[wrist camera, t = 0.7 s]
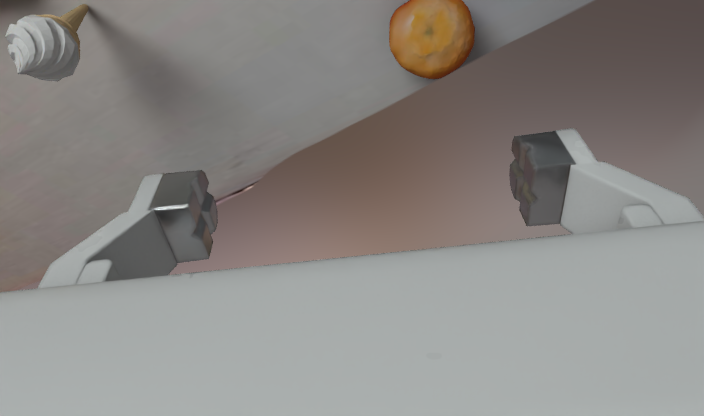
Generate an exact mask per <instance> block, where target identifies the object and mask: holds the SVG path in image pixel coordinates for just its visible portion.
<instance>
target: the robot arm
mask: <svg viewBox="0 0 704 416" xmlns="http://www.w3.org/2000/svg"><path fill="white" fill-rule="evenodd" d="M512 152H513V154H514V157H515V159H514V161H513V162H512V163H511V164H510V186H511V190H512V193H513V196H514V198H515V199H516V200H518V201H520V212H521V214H522V217H523V219H524V221H525V223H526V226H536V225H549V224H560V225H561V226H562V227H563V228H565V229H566V230H568V231H569V232H571V233H572V234H568V235H558V236H548V237H538V238H528V239H519V240H510V241H499V242H489V243H479V244H470V245H460V246H450V247H440V248H431V249H422V250H411V251H402V252H391V253H381V254H372V255H362V256H352V257H342V258H333V259H323V260H313V261H303V262H293V263H283V264H274V265H264V266H254V267H244V268H234V269H225V270H215V271H205V272H195V273H185V274H175V275H168V274H169V273H170V272H171V271H172V270H173V269H174V268H175V267H176V266H177V263H181V262H189V261H196V260H204V259H209V256H210V252H211V248H212V244H213V240H212V237H211V234H212V233H213V232H214V231H215V230H216V227H217V223H218V222H217V221H218V219H217V207H216V203H215V200H214V197H213V196H212V195H211V194H209V193H208V192H207V188H208V184H209V182H208V180H207V177H206V175H205V173H204V172H203V171H202V170H197V171H186V172H175V173H166V174H164V173H163V174H154V175H147V176H145V177H144V178H143V180H142V182H141V184H140V187H139V189H138V191H137V193H136V195H135V198H134V200H133V202H132V204H131V206H130V209H129V211H128V213H122V214H120V215H119V216H118V217H116V218H115V219H113V220H112V221H110V222H109V223H108V224H106V225H105V226H103V227H102V228H101V229H99V230H98V231H96V232H95V233H94V234H92V235H91V236H89V237H88V238H87V239H85V240H84V241H82V242H81V243H79V244H78V245H77V246H75V247H74V248H72V249H71V250H70V251H68V252H67V253H65V254H64V255H63V256H61V257H60V258H58V259H57V260H56V261H54V262H53V263H51V265H50V266H49V268H48V270H47V272H46V273H45V275H44V277H43V279H42V281H41V282H40V284H39V286H38V288H37V289H28V290H18V291H8V292H0V416H704V216H703V215H702V214H701V212H700V211H699V210H698V209H697V207H696V206H695V205H694V204H693V203H692V201H691V200H690V199H689V198H687V197H685V196H683V195H680V194H678V193H676V192H673V191H671V190H669V189H667V188H664V187H662V186H660V185H657V184H655V183H653V182H650V181H648V180H646V179H643V178H641V177H639V176H637V175H634V174H632V173H630V172H627V171H625V170H623V169H620V168H618V167H616V166H613V165H611V164H609V163H607V162H598V161H597V159H596V158H595V156H594V155H593V153H592V152H591V151H590V149H589V148H588V146H587V145H586V143H585V142H584V141H583V139H582V138H581V136H580V135H579V134H578V132H577V131H576V130H575V129H573V128H571V129H564V130H557V131H552V132H544V133H537V134H529V135H521V136H514V138H513V142H512Z"/></svg>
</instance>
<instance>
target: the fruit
mask: <svg viewBox="0 0 704 416" xmlns="http://www.w3.org/2000/svg"><path fill="white" fill-rule="evenodd" d="M474 32H475V28H474V24H473V21H472V18H471V14H470V11H469V9H468V7H467V6H466V5H465V3H464V2H463V1H462V0H409V1H408V2H407V3H405V4H403V5H402V6H400V7H399V8H398V9H396V10H395V12H394V14H393V16H392V17H391V20H390V31H389V43H390V45H389V46H390V49H391V52H392V53H393V55H394V57H395V59H396V60H397V61H398V63H399V64H400V65H401V66H402V67H403V68H404V69H406V70H407V71H409V72H411V73H413V74H415V75H417V76H420V77H423V78H428V79H439V78H442V77H444V76H446V75H448V74H450V73H451V72H453V71H454V70H456V69H457V68H459V67H460V66H461V65H462V64H463V63H464V62H465V60H466V59H467V57H468V56H469V54H470V52H471V50H472V48H473V45H474Z"/></svg>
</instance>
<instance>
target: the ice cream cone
mask: <svg viewBox="0 0 704 416" xmlns="http://www.w3.org/2000/svg"><path fill="white" fill-rule="evenodd" d="M87 12H88V6H87V5H85V4H82V5H80V6H78V7H77V8H75V9H73V10H71V11H70V12H68V13H66V14H65V15H63V16H61V17H57V16H53V15H29V16H25V17H23V18H21V19H20V20H18V22H17V24H10V26H9V28H8V31H7V34H6V36H5V38H6V39H7V40H8V41H9V42H10V45H8V51H9V54H10V56H11V58H12V59H13V61H14V63H15V64H16V66H17V71H18V74H27V75H30V76H33V77H35V78H38V79H40V80H47V81H59V80H61V79H62V78H64V77H67V76H70V75H73V73H74V71H75V69H76V67H77V64H78V62H79V59H80V49H79V48H80V41H79V38H78V35H77V33H76V31H77V30H78V28H79V26H80V24H81V22H82V20H83V18H84V16H85V15H86V13H87Z"/></svg>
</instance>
